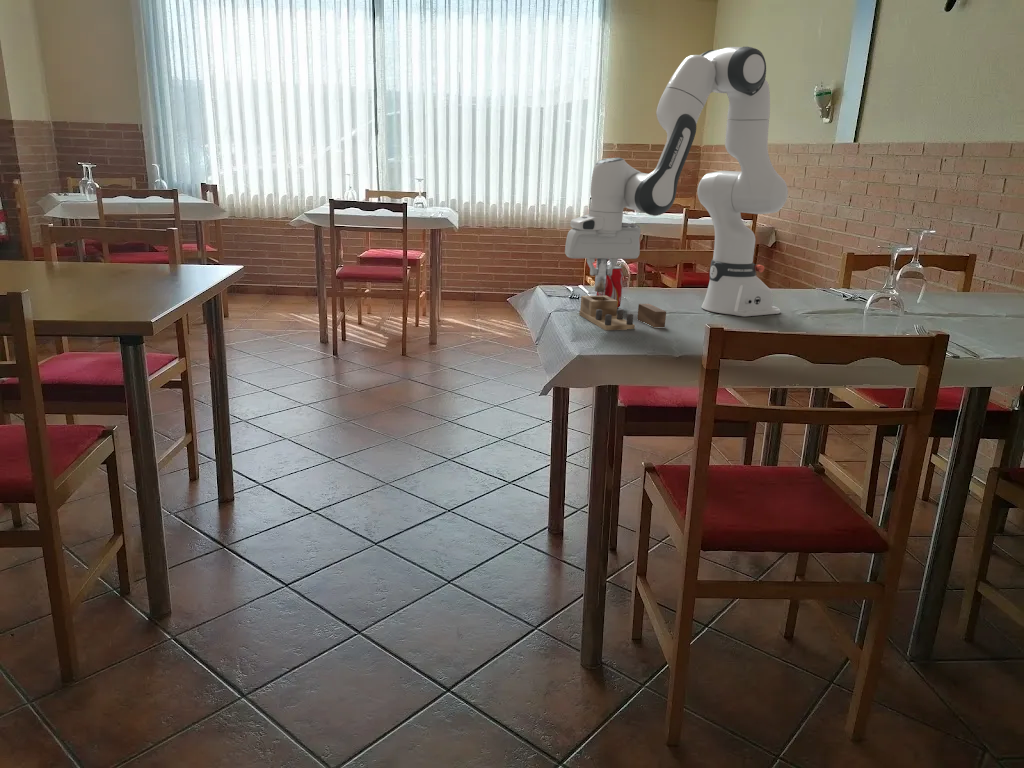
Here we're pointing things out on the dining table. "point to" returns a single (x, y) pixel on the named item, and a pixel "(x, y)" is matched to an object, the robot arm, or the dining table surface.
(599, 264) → the pin
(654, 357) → the dining table surface
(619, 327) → the board
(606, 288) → the soda can
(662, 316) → the bar
